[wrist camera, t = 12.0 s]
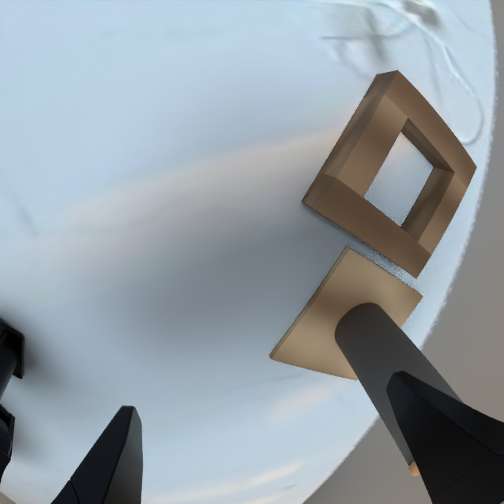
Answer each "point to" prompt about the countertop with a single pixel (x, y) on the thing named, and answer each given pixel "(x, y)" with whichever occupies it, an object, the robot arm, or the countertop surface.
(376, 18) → the countertop surface
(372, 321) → the plug
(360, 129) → the wooden square frame
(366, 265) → the cork mat
